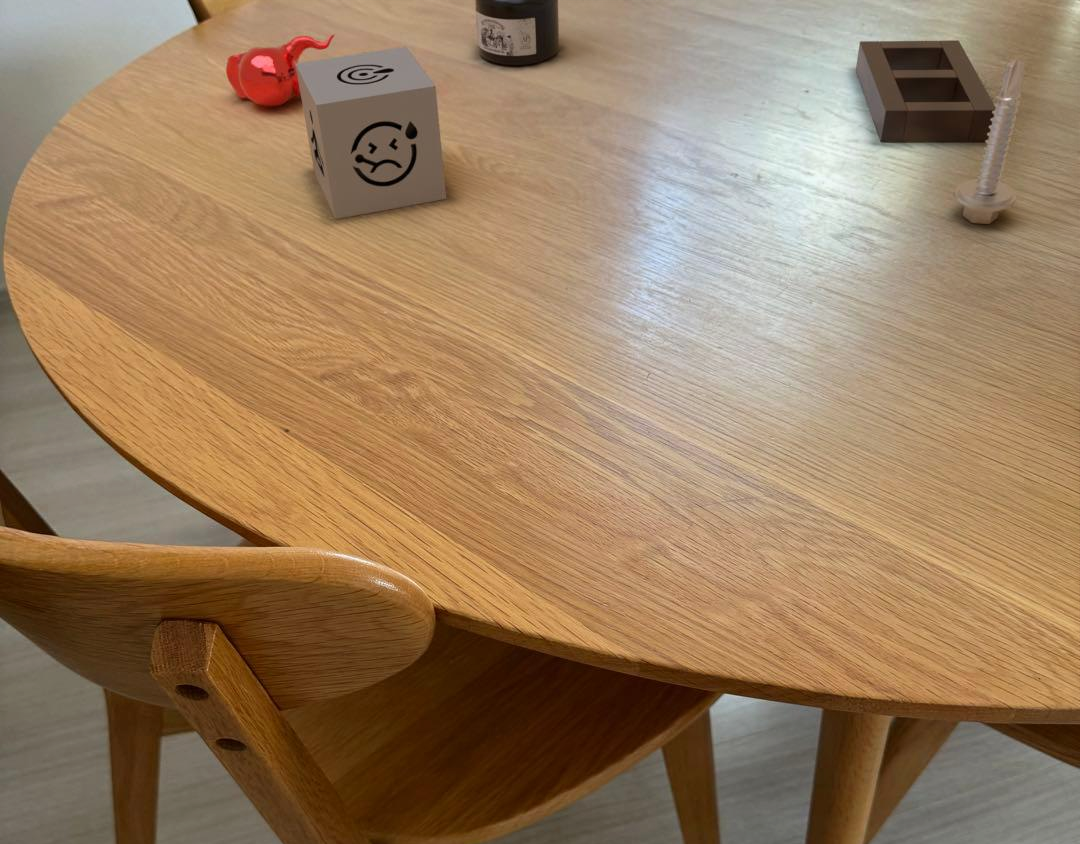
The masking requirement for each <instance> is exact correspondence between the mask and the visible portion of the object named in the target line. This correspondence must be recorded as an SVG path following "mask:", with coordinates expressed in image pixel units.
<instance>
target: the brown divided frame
mask: <svg viewBox="0 0 1080 844" xmlns="http://www.w3.org/2000/svg"><path fill="white" fill-rule="evenodd" d="M856 58H857V59H856V65H855V72H856V75H857V78H858V81H859V84H860V88H861V89H862V93H863V96H864V99H865V101H866V104H867V107H868V110H869V112H870V116H871V118H872V121H873V124H874V127H875V130H876V134H877V136H878V139H879V142H880V143H986V142H985V141H986V140H988V138H989V136H988V135H987V133H989V132H990V130H991V129H990V128H989V126H990V125H992V121H991V120H990V119H991V118H993V117H994V114H993V113H992V111H994V110H995V108H996V107H995V106H994V104H995V103H994V102H993V100H992V98H991V96H990V94H989V93H988V91H987V89H986V88H985V85H984V84H983V82H982V80H981V78H980V76H979V74H978V73H977V71H976V69H975V67H974V66H973V64H972V62H971V60H970V57H969V56H968V55H967V53H966V51H965V49H964V47H963V45H962V44H961V42H960V40H956V39H955V40H954V39H953V40H881V41H879V40H873V41H869V40H868V41H865V40H864V41H863V40H861V41H859V45H858V52H857V57H856Z"/></svg>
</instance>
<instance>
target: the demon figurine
mask: <svg viewBox="0 0 1080 844" xmlns="http://www.w3.org/2000/svg"><path fill="white" fill-rule="evenodd" d="M334 37H335V34H334V33H333V34H332V35H330V36H329V38H327V39H326V40H325V42H322V41H319V40H316V39H314V38H313V37H312V36H308V35H300V36H295V37H294V38H291V40H290V41H288V42H287V43H284V44H282V45H277V46H271V47H270V46H269V47H267V46H266V47H262V46H261V47H260V46H254V47H251V48H250V49H248V51H245V52H241V53H238V54H231V55H230V56H229V57H228V58H227V62H226V67H225V72H226V77H227V81H228V82H229V84H230V86H231V87H232V89H233V90H234V92H235V94H236V95H237V96H238V97H239V98H241V99H249V100H251V101H252V102H254V103H255V104H257V105H260V106H264V107H277V106H281V105H283V104H285V103H287V102H288V101H290V99H291V98H293V97H294V96H296V97H301V93H300V88H299V82H298V76H297V70H296V65H295V63H299V59H300V57H301V56H302V54H303V53H304V51H306V50H308V49H315V50H318V51H319V50H320V51H321V50H326V49H328V48H329V46H330V44H331V42H332V40H333V38H334Z"/></svg>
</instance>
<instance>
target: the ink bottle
mask: <svg viewBox="0 0 1080 844" xmlns="http://www.w3.org/2000/svg"><path fill="white" fill-rule="evenodd" d="M474 1H475V18H476V21H475V22H476V33H477V44H478V46H477V47H478V52H479V54H480V56H481V57H482V58H483V59H485V60H487V61H490V62H493V63H496V64H501V65H508V66H524V65H532V64H536V63H539V62H542V61H546V60H547V59H550V58H551V57H553V56H554V55H556V54H557V53H558V51H559V48H560V26H559V25H560V24H559V23H560V22H559V0H474Z"/></svg>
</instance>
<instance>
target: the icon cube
mask: <svg viewBox="0 0 1080 844" xmlns="http://www.w3.org/2000/svg"><path fill="white" fill-rule="evenodd" d="M295 65H296V70H297V76H298V82H299V88H300V93H301V96H300V98H301V104H302V110H303V116H304V121H305V122H304V123H305V128H306V133H307V137H308V144H309V150H310V151H309V152H310V155H311V161H312V167H313V173H314V176H315V178H316V180H317V182H318V184H319V187H320V189H321V191H322V193H323V196H324V197H325V201H326V203H327V204H328V206H329V208H330V211H331V213H332V215H333V217H334V220H339V219H344V218H350V217H351V218H352V217H354V216H361V215H366V214H372V213H377V212H383V211H387V210H388V211H389V210H393V209H399V208H405V207H409V206H415V205H421V204H427V203H430V202H431V203H432V202H437V201H444V200H447V192H446V191H447V190H446V181H445V170H444V159H443V150H442V149H443V148H442V140H441V139H442V138H441V128H440V119H439V117H440V116H439V108H438V107H439V106H438V98H437V97H438V96H437V86H436V84H435V83H434V82H433V80H432V79H431V78H430V76H429V75H428V73H427V72H426V71H425V69H424V68H423V66H422V65H421V64H420V63H419V61H418V60H417V58H416V57H415V56H414V54H413V52H411V50H410V48H409V47H408V46H399V47H395V48H394V47H393V48H388V49H382V50H381V49H379V50H373V51H368V52H361V53H354V54H348V55H342V56H335V57H329V58H321V59H316V60H315V59H314V60H308V61H302V62H298V63H295Z"/></svg>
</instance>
